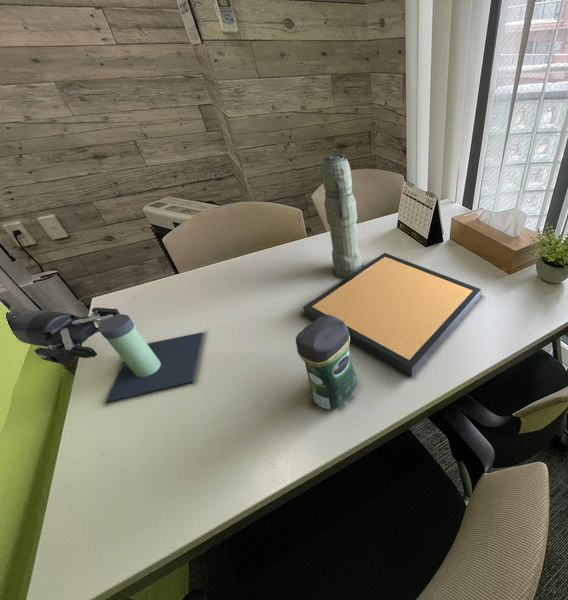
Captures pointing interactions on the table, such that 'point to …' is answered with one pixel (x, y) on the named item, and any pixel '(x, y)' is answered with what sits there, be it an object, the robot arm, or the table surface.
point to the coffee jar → (327, 361)
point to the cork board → (397, 309)
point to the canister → (129, 345)
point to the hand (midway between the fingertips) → (111, 337)
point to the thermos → (341, 215)
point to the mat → (161, 368)
